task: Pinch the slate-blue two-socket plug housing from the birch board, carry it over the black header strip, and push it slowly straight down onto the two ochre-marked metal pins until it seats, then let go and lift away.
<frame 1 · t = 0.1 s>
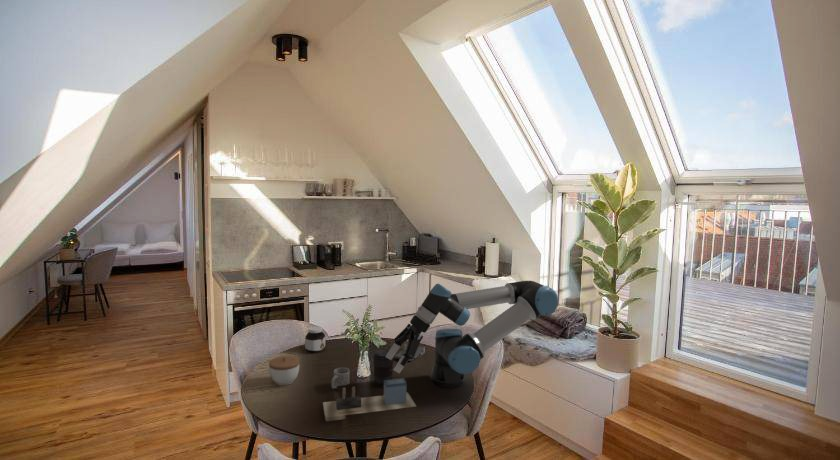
hand: (392, 364, 177), 15 cm above the table, tool tilted 35°, fingers open, 13 cm apart
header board: (369, 408, 174), on the table
lidded bowl: (284, 382, 195), on the table
graphics card: (407, 357, 229), on the table
spread jar: (314, 349, 235), on the table
plug housing: (394, 401, 176), point 1 cm above the table, touching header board
mug: (339, 387, 191), on the table
camera lens: (382, 387, 192), on the table
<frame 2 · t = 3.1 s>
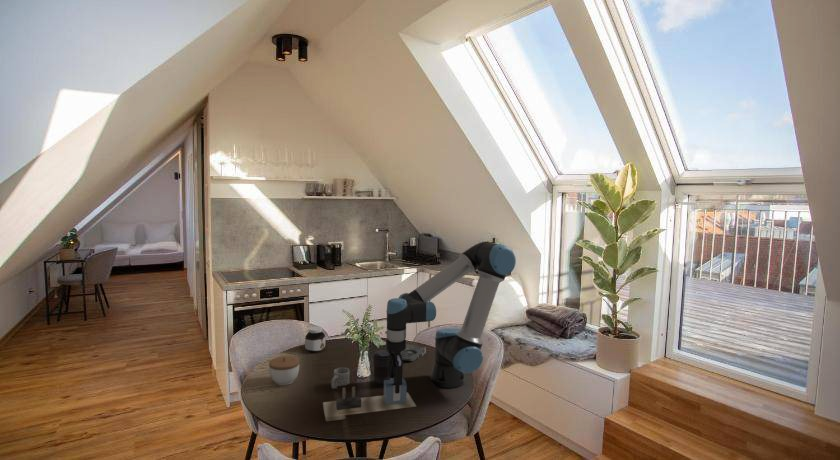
hand: (394, 397, 176), 3 cm above the table, tool pointing down, fingers closed on plug housing, 4 cm apart
plug housing: (394, 401, 176), point 2 cm above the table, touching gripper, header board
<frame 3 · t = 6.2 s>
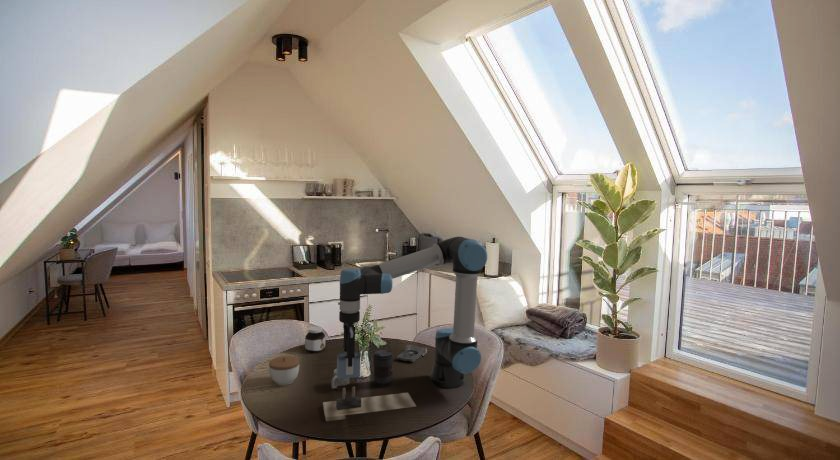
hand: (348, 371, 170), 15 cm above the table, tool pointing down, fingers closed on plug housing, 4 cm apart
plug housing: (348, 375, 170), point 14 cm above the table, touching gripper
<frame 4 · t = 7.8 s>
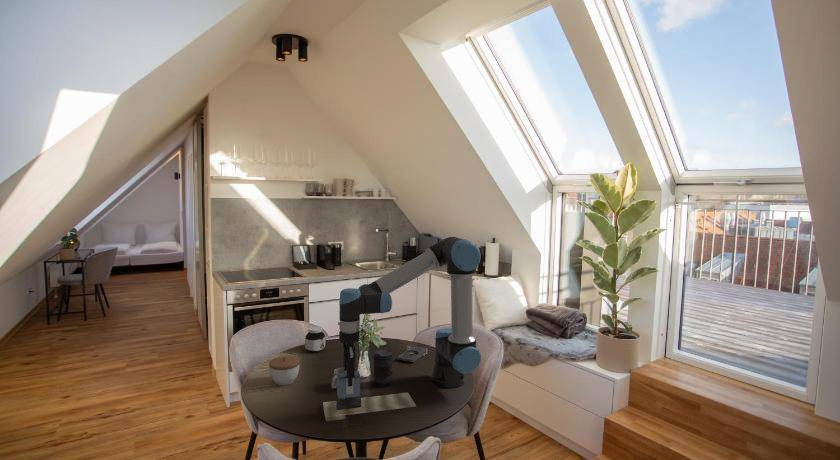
hand: (348, 390, 170), 8 cm above the table, tool pointing down, fingers closed on plug housing, 4 cm apart
plug housing: (348, 394, 171), point 6 cm above the table, touching gripper
when the fingers open (6 cm above the table, at t = 9.4 s): plug housing stays where it is, resting on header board.
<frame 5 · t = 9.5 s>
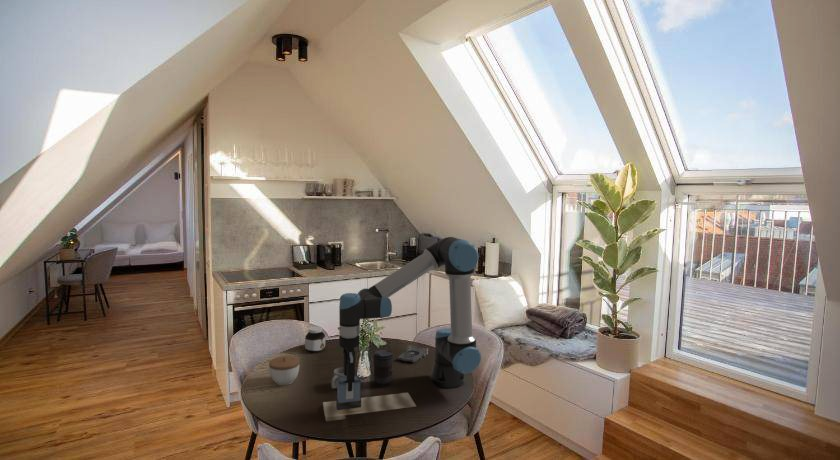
hand: (348, 395, 171), 6 cm above the table, tool pointing down, fingers open, 4 cm apart
plug housing: (348, 399, 171), point 4 cm above the table, touching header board
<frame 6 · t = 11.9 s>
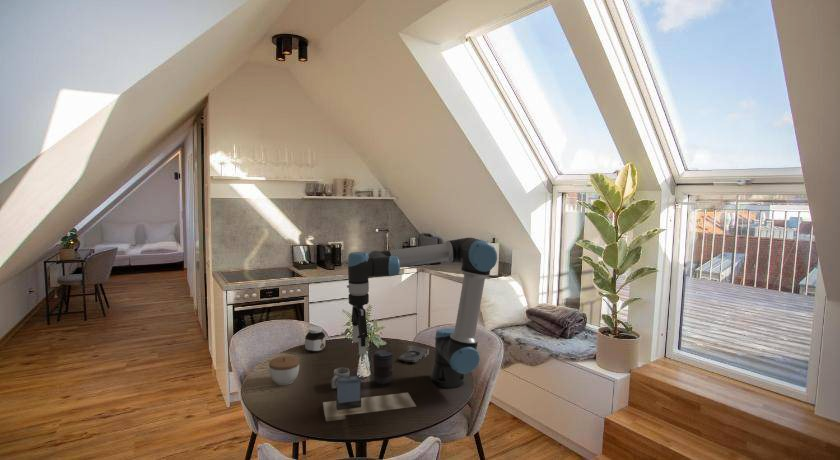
hand: (359, 347, 172), 23 cm above the table, tool pointing down, fingers open, 13 cm apart
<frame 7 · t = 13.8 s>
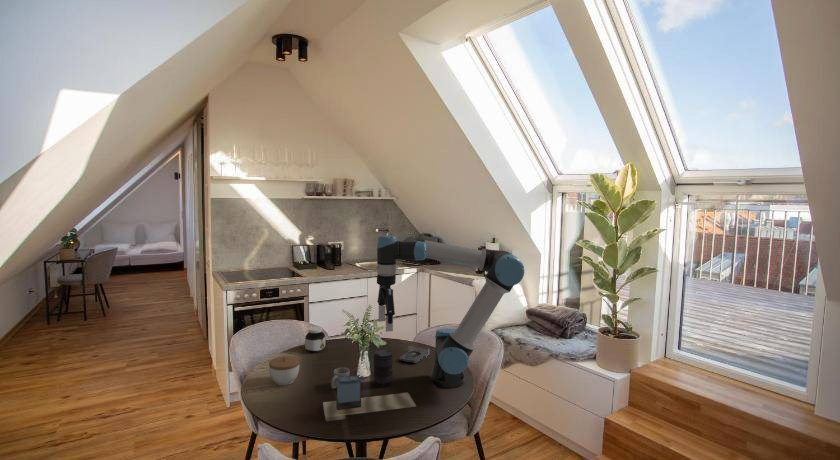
hand: (385, 326, 183), 29 cm above the table, tool pointing down, fingers open, 13 cm apart
at the end: plug housing 0.1 cm from the target spot on the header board, point 4.5 cm above the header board's base; plug housing tilted 0°; the gripper is holding nothing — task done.
